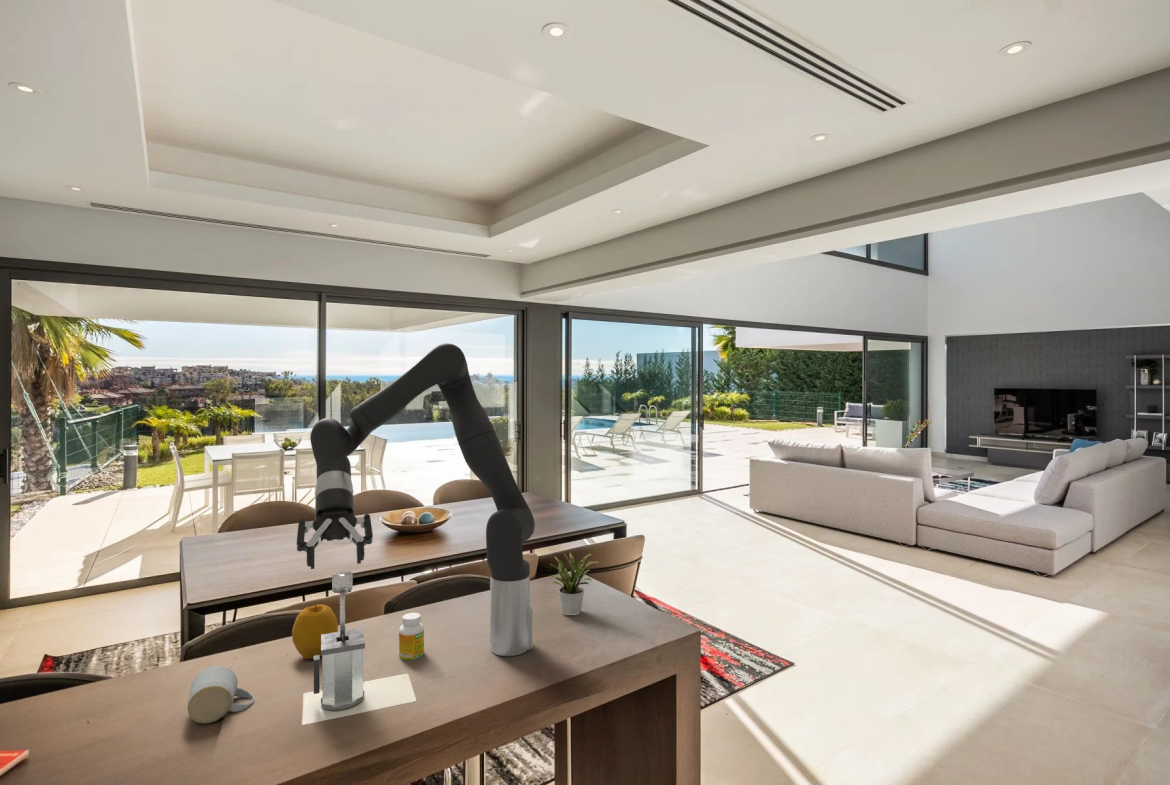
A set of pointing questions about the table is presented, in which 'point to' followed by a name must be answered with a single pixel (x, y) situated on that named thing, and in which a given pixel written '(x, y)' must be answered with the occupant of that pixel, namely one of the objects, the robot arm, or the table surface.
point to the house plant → (571, 585)
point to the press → (340, 670)
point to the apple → (313, 629)
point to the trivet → (375, 697)
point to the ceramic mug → (215, 695)
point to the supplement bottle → (411, 637)
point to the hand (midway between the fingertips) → (336, 564)
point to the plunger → (342, 595)
